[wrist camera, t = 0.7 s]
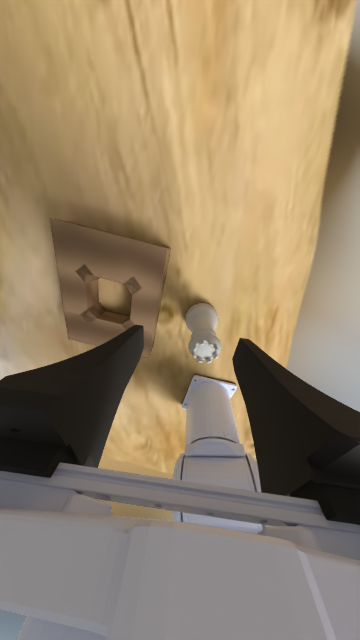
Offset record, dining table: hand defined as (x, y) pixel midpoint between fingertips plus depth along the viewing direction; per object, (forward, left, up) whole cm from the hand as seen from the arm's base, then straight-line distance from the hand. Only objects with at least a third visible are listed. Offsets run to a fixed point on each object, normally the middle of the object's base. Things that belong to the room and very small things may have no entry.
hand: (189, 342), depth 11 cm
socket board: (-2, +10, -10) cm, 14 cm away
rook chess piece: (-2, -2, -10) cm, 10 cm away
